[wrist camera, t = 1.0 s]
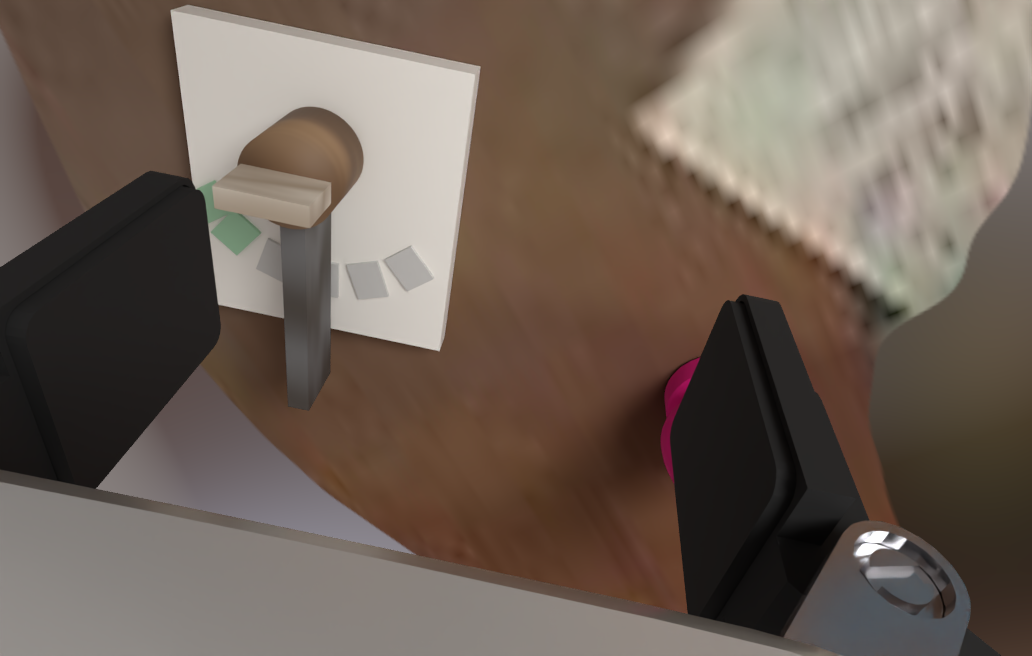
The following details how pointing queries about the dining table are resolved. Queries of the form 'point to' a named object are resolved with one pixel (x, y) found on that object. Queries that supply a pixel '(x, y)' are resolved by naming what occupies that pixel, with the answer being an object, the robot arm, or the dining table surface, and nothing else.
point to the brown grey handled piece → (299, 225)
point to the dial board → (380, 188)
